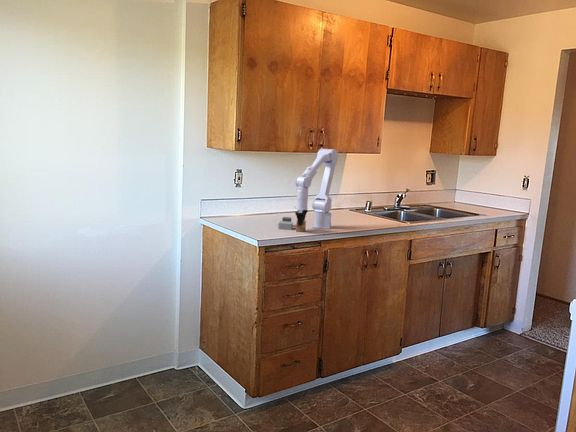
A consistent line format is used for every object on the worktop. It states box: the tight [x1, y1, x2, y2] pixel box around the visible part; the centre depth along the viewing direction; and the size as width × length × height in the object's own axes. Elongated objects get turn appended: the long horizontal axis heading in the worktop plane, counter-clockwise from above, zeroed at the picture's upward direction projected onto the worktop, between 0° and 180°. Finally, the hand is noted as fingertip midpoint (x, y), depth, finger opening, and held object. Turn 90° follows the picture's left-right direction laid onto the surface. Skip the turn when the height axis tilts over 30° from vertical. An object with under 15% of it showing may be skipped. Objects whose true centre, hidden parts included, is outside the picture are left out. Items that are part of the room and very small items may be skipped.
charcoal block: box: [281, 216, 292, 222], centre depth 276 cm, size 4×4×4 cm
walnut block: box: [295, 219, 307, 233], centre depth 262 cm, size 4×4×6 cm
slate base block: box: [277, 220, 294, 231], centre depth 268 cm, size 7×7×4 cm
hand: (301, 224), depth 262 cm, fingers open, 7 cm apart
